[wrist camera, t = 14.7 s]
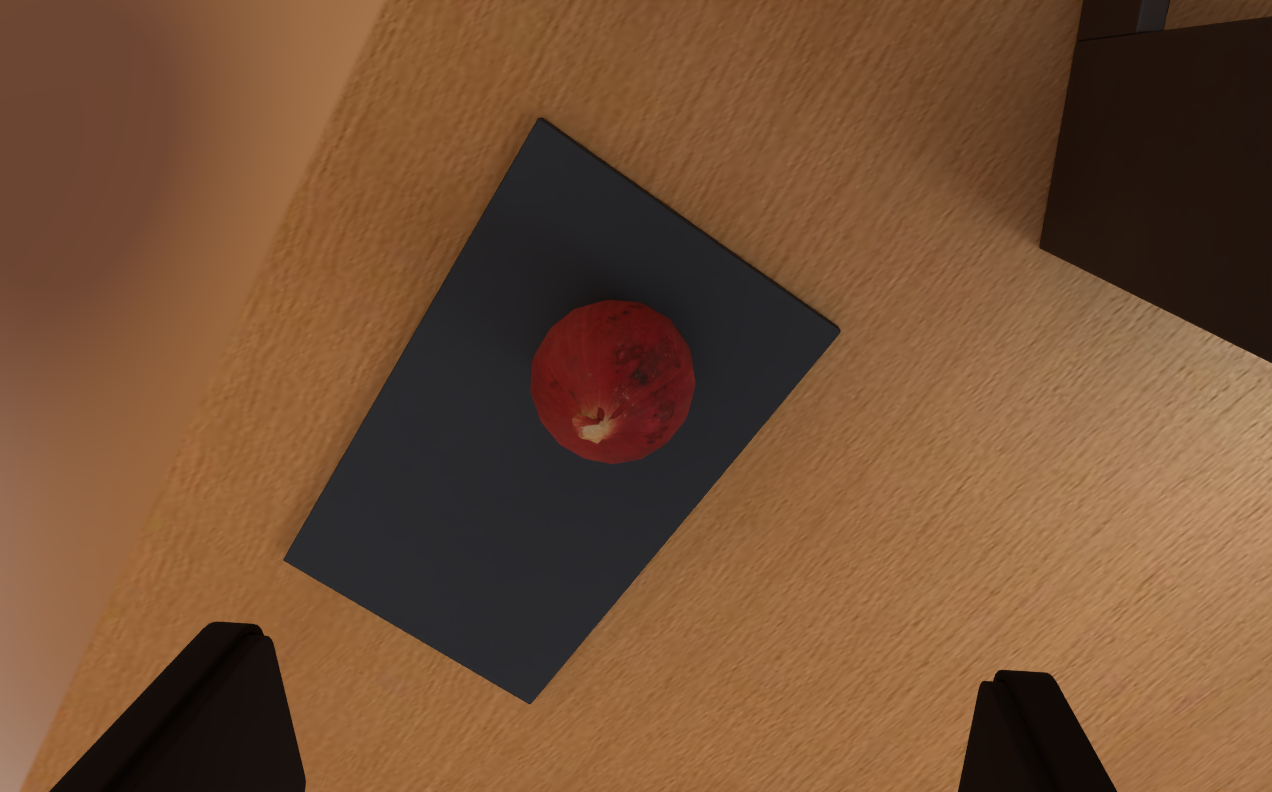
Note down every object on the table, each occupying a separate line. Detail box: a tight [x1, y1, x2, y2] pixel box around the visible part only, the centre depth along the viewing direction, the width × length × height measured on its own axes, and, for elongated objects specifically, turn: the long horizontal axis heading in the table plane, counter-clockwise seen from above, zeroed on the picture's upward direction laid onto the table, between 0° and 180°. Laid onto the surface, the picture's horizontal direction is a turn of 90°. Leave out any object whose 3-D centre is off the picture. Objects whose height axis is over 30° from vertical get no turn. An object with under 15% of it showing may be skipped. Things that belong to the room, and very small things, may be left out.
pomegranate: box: [530, 300, 696, 464], centre depth 27 cm, size 6×6×8 cm
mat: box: [284, 118, 841, 704], centre depth 33 cm, size 24×14×1 cm, turn 146°
